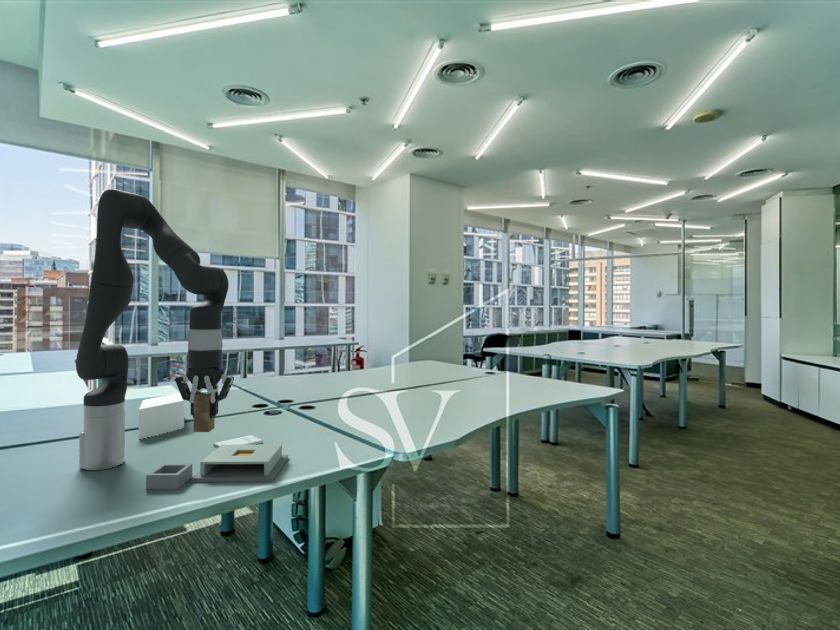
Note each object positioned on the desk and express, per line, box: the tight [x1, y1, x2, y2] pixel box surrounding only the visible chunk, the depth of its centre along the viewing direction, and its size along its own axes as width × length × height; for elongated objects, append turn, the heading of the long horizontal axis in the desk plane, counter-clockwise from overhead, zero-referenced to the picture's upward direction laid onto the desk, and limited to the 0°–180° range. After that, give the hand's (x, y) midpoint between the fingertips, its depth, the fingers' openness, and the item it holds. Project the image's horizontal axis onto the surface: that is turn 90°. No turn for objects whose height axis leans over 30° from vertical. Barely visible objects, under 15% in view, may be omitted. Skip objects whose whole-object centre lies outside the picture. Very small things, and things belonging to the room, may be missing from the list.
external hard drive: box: [212, 434, 264, 449], centre depth 139 cm, size 2×8×12 cm
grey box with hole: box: [191, 443, 289, 483], centre depth 118 cm, size 20×17×5 cm
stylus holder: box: [145, 463, 193, 490], centre depth 108 cm, size 8×8×4 cm
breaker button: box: [234, 452, 253, 456], centre depth 118 cm, size 6×6×1 cm
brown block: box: [193, 391, 216, 433], centre depth 106 cm, size 4×4×9 cm
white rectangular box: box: [138, 392, 185, 440], centre depth 156 cm, size 14×29×10 cm, turn 2°
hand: (204, 416), depth 106 cm, fingers closed on brown block, 3 cm apart
